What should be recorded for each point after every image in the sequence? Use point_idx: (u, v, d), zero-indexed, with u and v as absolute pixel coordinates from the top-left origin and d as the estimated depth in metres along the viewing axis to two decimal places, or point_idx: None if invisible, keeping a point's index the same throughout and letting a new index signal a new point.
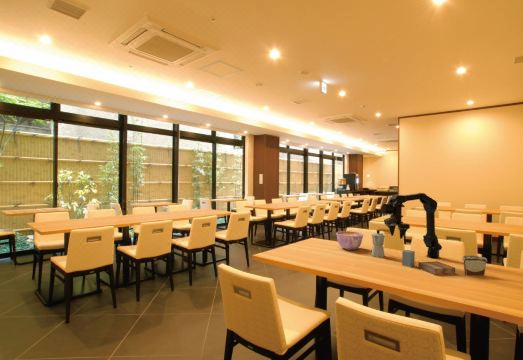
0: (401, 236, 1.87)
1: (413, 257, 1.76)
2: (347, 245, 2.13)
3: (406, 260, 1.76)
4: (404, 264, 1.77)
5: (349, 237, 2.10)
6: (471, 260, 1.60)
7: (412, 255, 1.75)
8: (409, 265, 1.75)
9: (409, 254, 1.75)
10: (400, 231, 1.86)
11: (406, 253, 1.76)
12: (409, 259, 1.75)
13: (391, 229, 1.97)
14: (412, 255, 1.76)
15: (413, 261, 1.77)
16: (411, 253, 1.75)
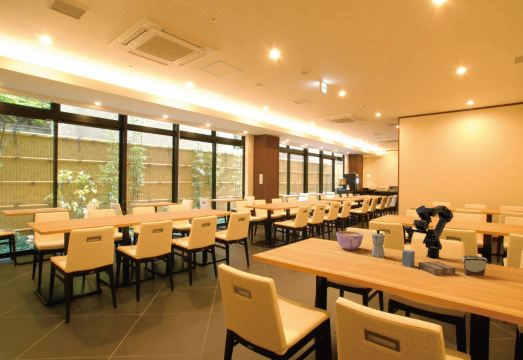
0: (424, 241, 1.79)
1: (413, 257, 1.76)
2: (347, 245, 2.13)
3: (406, 260, 1.76)
4: (404, 264, 1.77)
5: (349, 237, 2.10)
6: (471, 260, 1.60)
7: (412, 255, 1.75)
8: (409, 265, 1.75)
9: (409, 254, 1.75)
10: (427, 236, 1.79)
11: (406, 253, 1.76)
12: (409, 259, 1.75)
13: (410, 235, 1.88)
14: (412, 255, 1.76)
15: (413, 261, 1.77)
16: (411, 253, 1.75)
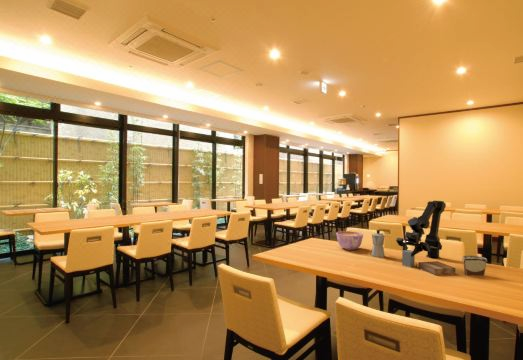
0: (413, 254, 1.75)
1: (413, 257, 1.76)
2: (347, 245, 2.13)
3: (406, 260, 1.76)
4: (404, 264, 1.77)
5: (349, 237, 2.10)
6: (471, 260, 1.60)
7: None
8: (409, 265, 1.75)
9: (409, 254, 1.75)
10: (415, 248, 1.75)
11: (406, 253, 1.76)
12: (409, 259, 1.75)
13: (405, 248, 1.81)
14: None
15: (413, 261, 1.77)
16: (411, 253, 1.75)
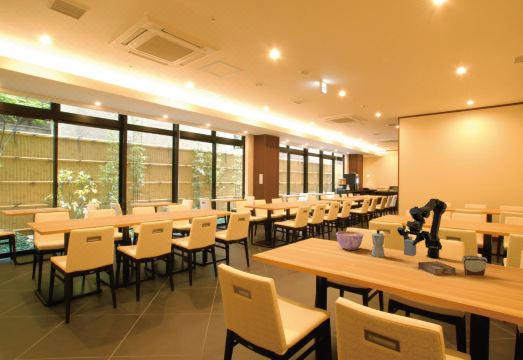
0: (415, 243, 1.74)
1: (415, 246, 1.76)
2: (347, 245, 2.13)
3: (408, 249, 1.76)
4: (406, 253, 1.77)
5: (349, 237, 2.10)
6: (471, 260, 1.60)
7: None
8: (411, 254, 1.74)
9: (411, 243, 1.74)
10: (417, 237, 1.75)
11: (408, 242, 1.75)
12: (411, 248, 1.74)
13: (406, 237, 1.80)
14: None
15: (415, 250, 1.76)
16: (413, 242, 1.74)
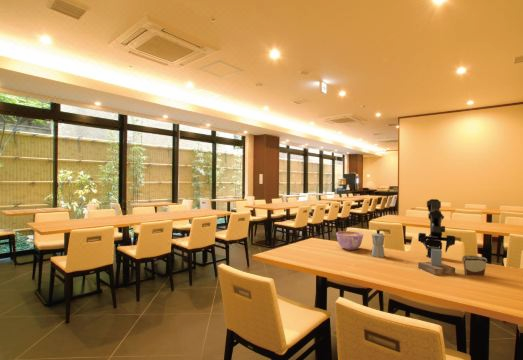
0: (447, 249, 1.65)
1: None
2: (347, 245, 2.13)
3: (436, 259, 1.66)
4: (434, 264, 1.66)
5: (349, 237, 2.10)
6: (471, 260, 1.60)
7: None
8: (440, 264, 1.65)
9: (441, 253, 1.64)
10: (448, 243, 1.66)
11: (437, 252, 1.65)
12: (440, 258, 1.65)
13: (426, 243, 1.71)
14: None
15: None
16: (441, 251, 1.65)
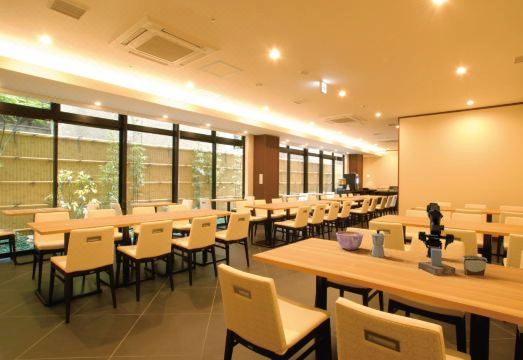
0: (446, 247, 1.71)
1: None
2: (347, 245, 2.13)
3: (436, 259, 1.66)
4: (434, 264, 1.66)
5: (349, 237, 2.10)
6: (471, 260, 1.60)
7: None
8: (440, 264, 1.65)
9: (440, 252, 1.65)
10: (447, 241, 1.72)
11: (437, 252, 1.65)
12: (440, 258, 1.65)
13: (426, 241, 1.77)
14: None
15: None
16: None
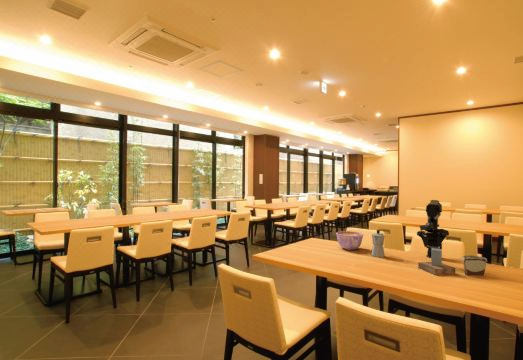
0: (439, 243, 1.75)
1: None
2: (347, 245, 2.13)
3: (436, 259, 1.66)
4: (434, 264, 1.66)
5: (349, 237, 2.10)
6: (471, 260, 1.60)
7: (441, 253, 1.66)
8: (440, 264, 1.65)
9: (440, 252, 1.65)
10: (438, 237, 1.75)
11: (437, 252, 1.66)
12: (440, 258, 1.65)
13: (424, 240, 1.85)
14: (441, 253, 1.67)
15: None
16: (441, 251, 1.66)
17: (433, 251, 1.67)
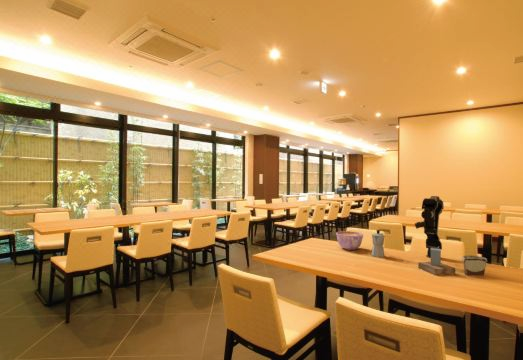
0: (429, 241, 1.81)
1: None
2: (347, 245, 2.13)
3: (435, 259, 1.66)
4: (433, 264, 1.67)
5: (349, 237, 2.10)
6: (471, 260, 1.60)
7: (440, 253, 1.66)
8: (439, 264, 1.65)
9: (439, 252, 1.65)
10: (427, 235, 1.80)
11: (436, 252, 1.66)
12: (439, 258, 1.65)
13: None
14: (440, 253, 1.67)
15: None
16: (440, 251, 1.66)
17: (432, 251, 1.67)
